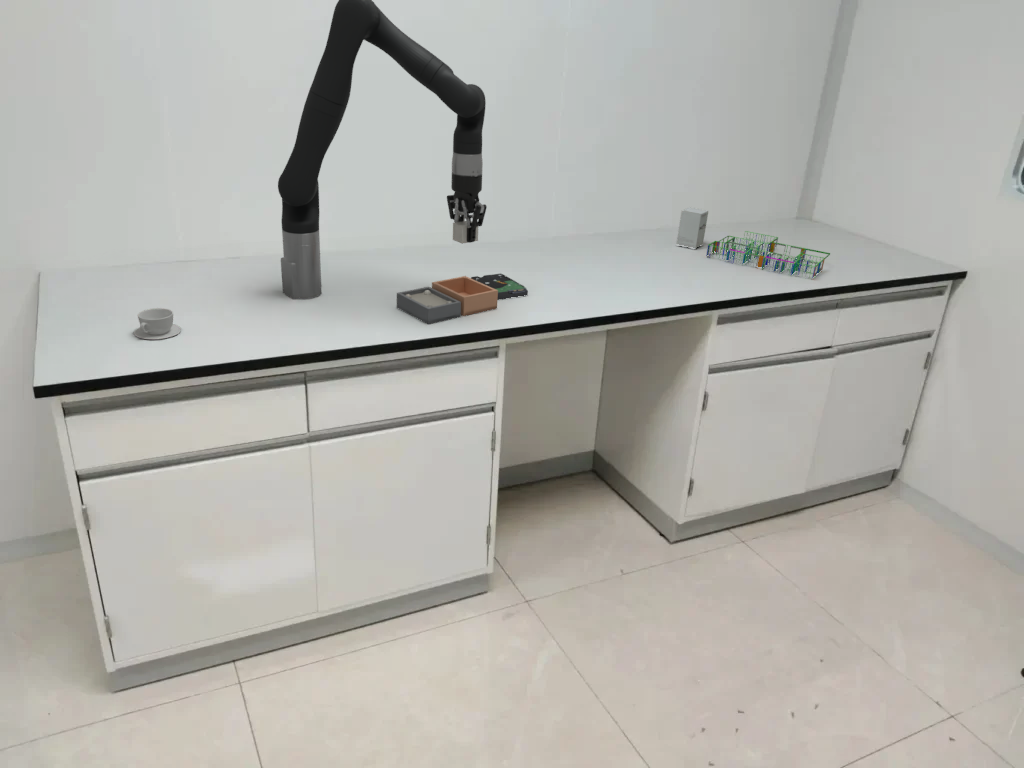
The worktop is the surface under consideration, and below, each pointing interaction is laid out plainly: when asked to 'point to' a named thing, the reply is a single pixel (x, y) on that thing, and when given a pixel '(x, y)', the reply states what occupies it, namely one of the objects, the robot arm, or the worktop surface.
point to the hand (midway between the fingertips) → (465, 239)
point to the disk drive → (502, 285)
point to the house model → (764, 258)
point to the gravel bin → (428, 305)
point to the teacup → (156, 324)
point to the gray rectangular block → (461, 232)
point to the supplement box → (692, 227)
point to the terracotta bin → (468, 294)
